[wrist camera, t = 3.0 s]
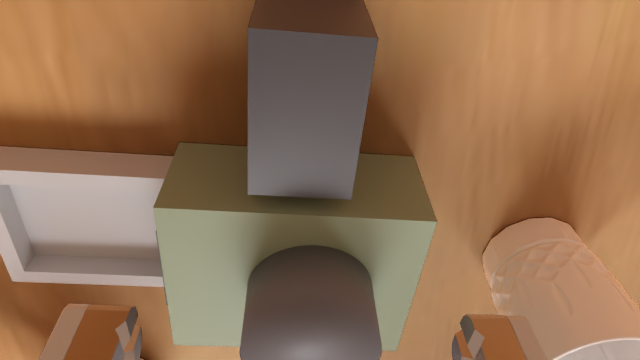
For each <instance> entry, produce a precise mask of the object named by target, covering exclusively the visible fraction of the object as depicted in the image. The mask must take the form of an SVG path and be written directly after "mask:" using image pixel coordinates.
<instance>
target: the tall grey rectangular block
mask: <svg viewBox="0 0 640 360" xmlns="http://www.w3.org/2000/svg"><path fill="white" fill-rule="evenodd" d="M377 42H378V37H377V34H376V31H375V29H374V26H373V23H372V21H371V18H370V16H369V13H368V10H367V8H366V5H365V2H364V0H256V1H255V4H254V8H253V11H252V15H251V18H250V22H249V26H248V194H249V195H268V196H287V197H306V198H325V199H344V200H351V198H352V192H353V186H354V180H355V174H356V168H357V162H358V156H359V150H360V144H361V138H362V132H363V126H364V120H365V114H366V108H367V102H368V96H369V90H370V84H371V78H372V72H373V66H374V60H375V54H376V48H377Z"/></svg>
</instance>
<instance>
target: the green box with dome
mask: <svg viewBox="0 0 640 360" xmlns="http://www.w3.org/2000/svg"><path fill="white" fill-rule="evenodd" d="M436 224H437V220H436V217H435V214H434V211H433V208H432V205H431V203H430V200H429V197H428V194H427V191H426V189H425V186H424V183H423V180H422V177H421V174H420V172H419V169H418V166H417V163H416V160H415V157H414V156H399V155H382V154H366V153H359V156H358V162H357V168H356V174H355V180H354V186H353V192H352V198H351V200H344V199H325V198H306V197H287V196H268V195H249V194H248V146H233V145H216V144H200V143H183V142H179V144H178V147H177V149H176V152H175V154H174V156H162V155H145V154H128V153H110V152H93V151H76V150H58V149H41V148H24V147H7V146H0V254H1V256H2V259H3V261H4V263H5V266H6V268H7V270H8V272H9V275H10V277H11V279H12V282H38V283H65V284H93V285H121V286H149V287H164V290H165V296H166V303H167V306H168V310H169V316H170V323H171V330H172V336H173V343H174V345H189V346H227V347H240V358H241V360H379V359H380V357H381V353H382V351H397V348H398V345H399V341H400V338H401V335H402V332H403V329H404V326H405V322H406V319H407V316H408V313H409V310H410V307H411V303H412V300H413V297H414V294H415V291H416V288H417V284H418V281H419V278H420V275H421V272H422V269H423V265H424V262H425V259H426V256H427V253H428V250H429V246H430V243H431V240H432V237H433V234H434V231H435V227H436Z"/></svg>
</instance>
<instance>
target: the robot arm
mask: <svg viewBox="0 0 640 360" xmlns="http://www.w3.org/2000/svg"><path fill="white" fill-rule="evenodd" d="M137 317H138V313H137V310H136V306H115V305H94V304H68V305H67V306H66V307H65V308H64V309H63V310H62V312H61V314H60V316H59V318H58V320H57V322H56V324H55V326H54V328H53V330H52V332H51V335H50V337H49V339H48V341H47V343H46V345H45V347H44V349H43V351H42V353H41V355H40V357H39V359H38V360H139V357H140V352H141V346H142V331H141V327H140V326H139V325H138V324H136V320H137ZM460 324H461V328H462V330H461V331H459V332H458V333H456V334H455V336H454V339H453V342H452V357H453V360H547V358H546V356H545V354H544V352H543V350H542V348H541V346H540V344H539V341H538V339H537V337H536V335H535V333H534V331H533V329H532V327H531V325H530V323H529V321H528V319H527V318H526V317H525V316H511V315H504V316H503V315H477V314H466V315H465V316H463V318H462V320H461V322H460Z"/></svg>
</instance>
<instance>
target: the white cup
mask: <svg viewBox="0 0 640 360" xmlns="http://www.w3.org/2000/svg"><path fill="white" fill-rule="evenodd" d="M482 258H483V270H484V273H485V276H486V278H487V281H488V284H489V286H490V289H491V295H492V299H493V302H494V305H495V308H496V310H497V313H498V315H503V316H504V315H511V316H525V317H526V318H527V319H528V321H529V323H530V325H531V327H532V329H533V331H534V333H535V335H536V337H537V339H538V341H539V344H540V346H541V348H542V350H543V352H544V354H545V356H546V358H547V360H640V308H639V307H638V306H637V304H636V303H635V302H634V301H633V300H632V298H631V297H630V296H629V295H628V293H627V292H626V291H625V289H624V288H623V287H622V286H621V284H620V283H619V282H618V281H617V279H616V278H615V277H614V276H613V274H612V273H611V272H610V271H609V270H608V268H607V267H606V266H605V265H604V264H603V263H602V262H601V261H600V259H599V258H598V256H596V255H595V254H594V253H592V252H591V251H590V249H589V248H588V247H587V246H586V245H585V244H584V243H583V241H582V240H581V239H580V237H579V236H578V235H577V233H576V232H575V231H574V230H573V228H572V227H571V226H570V225H569V224H568V223H565V222H562V221H559V220H557V219H554V218H531V219H526V220H524V221H521V222H518V223H516V224H513V225H510V226H508V227H506V228H505V229H504V230H502V231H501V232H500V233H499V234H497V235H496V236H495V237H494V238H492V239H491V240H490V242H489V244H488V246H487V248H486V249H485V251H484V253H483V255H482Z"/></svg>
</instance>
